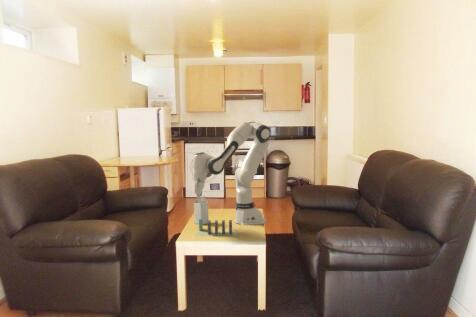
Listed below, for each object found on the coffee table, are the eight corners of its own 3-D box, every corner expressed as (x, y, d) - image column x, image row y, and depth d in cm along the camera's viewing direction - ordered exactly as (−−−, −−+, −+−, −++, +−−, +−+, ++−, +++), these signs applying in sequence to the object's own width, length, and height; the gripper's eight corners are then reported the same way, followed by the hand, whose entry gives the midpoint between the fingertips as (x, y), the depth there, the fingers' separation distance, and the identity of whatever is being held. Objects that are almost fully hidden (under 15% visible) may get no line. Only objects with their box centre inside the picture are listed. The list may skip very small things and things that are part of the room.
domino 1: (202, 229, 229) (202, 217, 229) (201, 231, 225) (201, 219, 224) (200, 229, 229) (199, 217, 229) (199, 231, 225) (199, 219, 224)
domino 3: (218, 232, 221) (217, 220, 220) (217, 234, 217) (217, 222, 216) (215, 232, 221) (215, 220, 220) (215, 234, 217) (214, 222, 216)
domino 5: (232, 232, 221) (231, 220, 220) (231, 234, 217) (231, 222, 216) (229, 232, 221) (229, 220, 220) (229, 234, 217) (229, 222, 216)
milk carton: (194, 223, 243) (193, 197, 241) (202, 221, 248) (201, 195, 246) (201, 225, 238) (200, 198, 236) (208, 223, 243) (208, 196, 241)
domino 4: (225, 232, 221) (224, 220, 220) (224, 234, 217) (224, 222, 216) (222, 232, 221) (222, 220, 220) (222, 234, 217) (221, 222, 216)
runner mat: (237, 232, 222) (236, 231, 222) (236, 235, 215) (236, 235, 215) (197, 232, 223) (197, 231, 223) (195, 236, 216) (195, 235, 216)
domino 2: (211, 232, 221) (210, 220, 220) (210, 234, 217) (210, 222, 216) (208, 232, 221) (208, 220, 221) (207, 234, 217) (207, 222, 216)
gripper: (202, 179, 215) (202, 201, 217) (206, 174, 236) (205, 194, 237) (192, 179, 216) (192, 201, 217) (196, 174, 236) (196, 194, 237)
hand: (199, 197), depth 227 cm, fingers open, 8 cm apart
